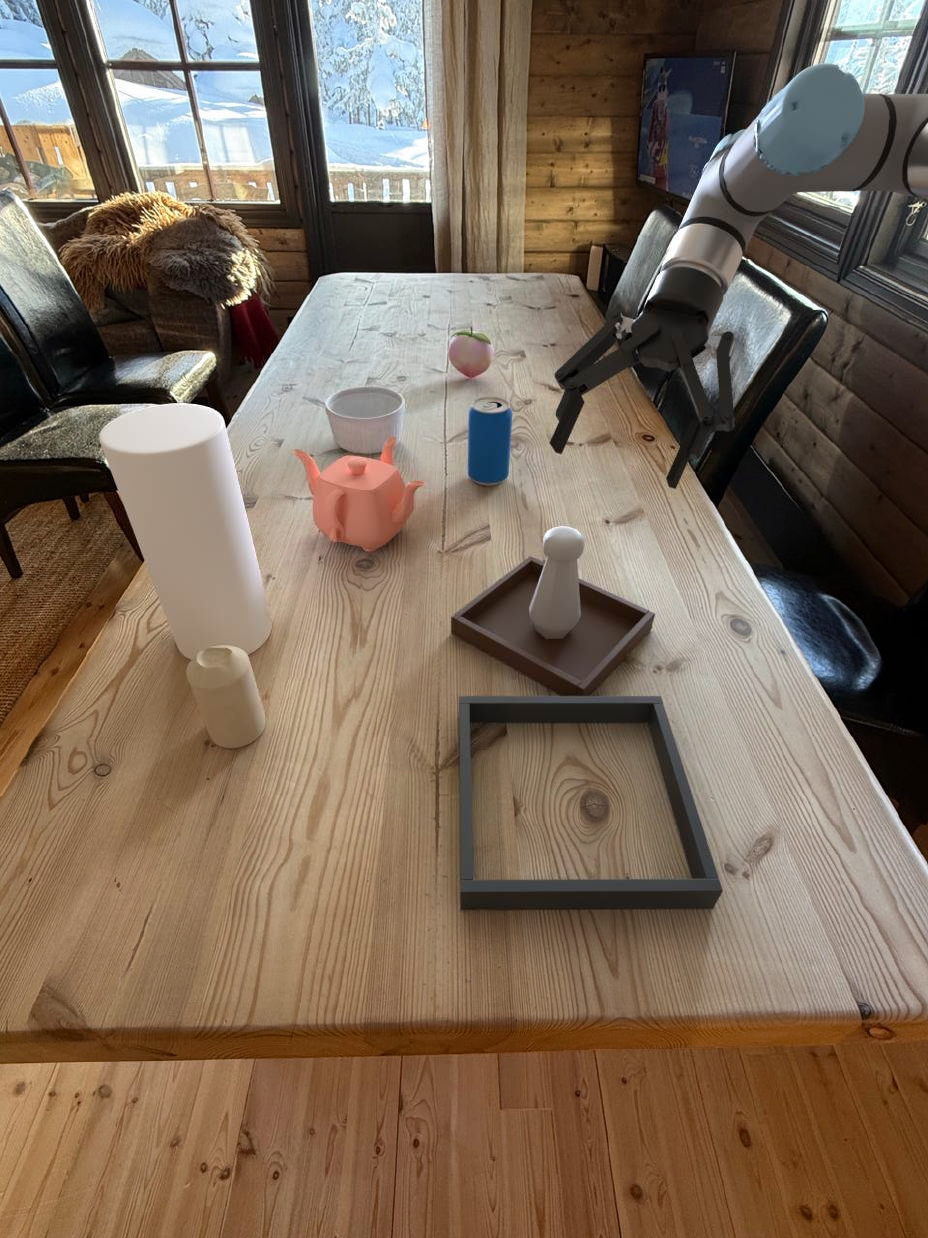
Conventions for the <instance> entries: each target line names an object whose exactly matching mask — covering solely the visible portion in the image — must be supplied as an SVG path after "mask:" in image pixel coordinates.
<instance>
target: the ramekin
mask: <svg viewBox="0 0 928 1238" xmlns="http://www.w3.org/2000/svg"><path fill="white" fill-rule="evenodd" d="M405 410H406V404H405V398H404V397H403V395H402V394H400V393H399V392H397V391H395V390H394V389H391V388H388V387H382V386H375V385H374V386H373V385H362V386H361V385H360V386H353V387H348V388H344V389H340V390H338V391H336V392H334V393H332V394H330V395H329V396H328V397H327V398H326V399H325V401H324V411H325V414H326V415H327V418H328V422H329V426H330V430H331V434H332V437H333V439H334V442H335V443H336V444H337V445H338V446H339V447H340V448H341V449H343V450H345V451H346V452H350V453H352V454H353V453H354V454H361V455H372V454H379V453H382V451H383V448H384V445H385V443H386V442H387V440H388V439H390V438H391V437H396V443H395V445H394V447H395V446H397V444H398V442H400V440H401V438H402V435H403V428H404V427H403V426H404V413H405Z"/></svg>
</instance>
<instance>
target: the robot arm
mask: <svg viewBox="0 0 928 1238" xmlns="http://www.w3.org/2000/svg"><path fill="white" fill-rule="evenodd" d="M830 192H831V193H832V192H890V193H896V194H900V195H905V196H908V197H913V198H917V199H924V200H928V93H889V94H885V93H884V94H883V93H869V92H868V93H867V92H866V93H864V92H863V89H862V88H861V86H860V83H859V82H858V80H857V78H856V77H855V76H854V75H853V74H852V73H851V72H849V71H848V72H845V71H843V70H842V69H840V67H839V65H838V64H836V63H829V62H823V63H816V64H813V65H810V66H808V67H806V68H805V69H803V70H801V71H800V72H798V74H796V75H795V76H794V77H793V78H792V79H791V80H790V81H789V82H788V83H787V84H786V85H785V86H784V87H783V88H781V89H780V90H779V91H778V92H777V93H776V94H775V95H773V96H772V97H771V98H770V99H769V100H768V102H767V103H766V104H765V106H764V107H763V108H762V109H761V111H760V113H759V114H758V115H757V116H756V117H755V119H754V120H753V121H752V122H751V124H749V126H747V128H746V129H744V128H743V129H741V130H738V131H737V132H735V133H729V134H727V135H725V136H724V137H723V138H722V139H721V140H720V141H719V142H718V144H717V145H716V147H715V148H714V151H713V152H712V155H711V156H710V159H709V161H708V162H706V164H705V165H704V167H703V169H702V170H701V174H700V178H699V181H698V184H697V186H696V188H695V191H694V193H693V195H692V198H691V200H690V202H689V204H688V207H687V209H686V212H685V214H684V216H683V219H682V221H681V223H680V225H679V227H678V229H677V232H676V234H675V236H674V237H673V238H674V239H673V240H672V243H671V245H670V247H669V249H668V251H667V254H666V255H665V258H664V260H663V263H662V264H661V267H660V269H659V270H660V273H659V274H657V276H656V278H655V281H654V283H653V284H652V288H651V289H650V292H649V294H648V296H647V299H646V301H645V303H644V306H643V309H642V311H641V313H640V314H639V316H637V317H636V318H635V319H633V318H630V317H626V316H624V315H623V314H622V311H621V310H620V309H613V311H611V312H610V313H609V316H608V318H607V319H606V320H605V323H604V325H603V326H602V327H601V328H600V329H599V330H598V331H597V332H596V333H595V334H593V336H592V337H590V339H589V340H587V341H586V343H584V345H583V344H582V346H581V347H580V348H579V349H578V350H577V351H576V352H575V353H574V354H573V355H572V356H571V357H570V358H568V360H567V361H565V362H564V363H563V364H562V365H561V366H560V367H559V368H558V369H557V370H556V371H555V373H554V379H555V380H556V383H557V384H558V386H559V387H560V389H561V390H564V392H563V395H562V396H561V399H560V401H559V403H558V405H557V408H556V409H555V417H556V419H557V421H558V423H557V425H556V428H555V429H554V432H553V434H552V436H551V437H550V440H549V442H548V443H549V445H550V447H551V448H552V450H553V451H554V452H555V453H556V454H559V455H562V454H563V453H564V449H565V448H566V445H567V443H568V441H569V439H570V436H571V434H572V432H573V429H574V427H575V426H576V423H577V420H578V418H579V416H580V414H581V412H582V409H583V407H584V405H585V400H584V398H583V396H584V395H585V394H588V393H589V392H590V391H592V390H593V389H595V388H597V387H598V386H600V385H602V384H603V383H605V382H607V381H608V380H610V379H612V378H613V377H615V376H616V375H618V374H620V373H621V372H623V371H624V370H626V369H628V368H629V369H632V368H634V367H636V366H637V365H639V364H640V363H642V364H643V366H644V367H647V368H658V369H660V370H662V371H663V372H668V373H671V372H672V371H674V370H678V369H679V371H680V373H681V376H682V378H683V381H684V383H685V385H686V388H687V391H688V393H689V396H690V399H691V401H692V404H693V407H694V410H695V413H696V416H697V418H698V420H699V421H698V420H694V419H692V420H691V421H690V423H689V426H688V428H687V431H686V433H685V434H684V437H683V439H682V441H681V443H680V446H679V448H678V450H677V453H676V455H675V457H674V460H673V461H672V464H671V466H670V468H669V471H668V473H667V475H666V477H665V480H666V482H667V487H668V488H671V489H674V490H677V488H678V485H679V483H680V481H681V478H682V476H683V474H684V472H685V469H686V467H687V465H688V463H689V460H690V459H692V460H695V461H698V460H699V459H700V458H701V457H702V456H703V453H704V450H705V448H706V446H707V444H708V442H709V439H710V437H711V435H712V434H713V433H714V432H718V431H724V432H725V433H726V432H727V433H729V432H732V431H733V430H734V428H735V411H734V399H733V385H732V375H731V373H732V372H731V361H732V357H733V354H734V352H735V334H734V333H733V332H732V331H730V330H729V331H724V332H723V333H722V335H715V334H714V335H713V334H709V333H710V330H711V329H712V326H713V325H714V322H715V320H716V317H717V315H718V313H719V311H720V308H721V307H722V304H723V301H724V297H725V295H726V294H727V291H728V289H729V287H730V285H731V283H732V280H733V279H734V277H735V274H736V273H737V271H738V269H739V265H740V263H741V261H742V259H743V257H744V255H745V251H746V250H747V247H748V245H749V244H750V241H751V239H752V237H753V235H754V232H755V230H756V228H757V227H758V225H759V223H761V221H763V219H765V218H766V217H767V216H768V215H770V213H772V212H773V211H775V210H776V209H777V208H778V207H780V206H781V205H782V204H783V203H784V202H785V201H786V200H787V199H789V198H790V197H792V196H793V195H794V194H797V193H830ZM628 333H631V336H632V337H629V338H628V339H627V340H625V341H623V342H622V343H620V345H619V347H617V349H615V350H614V351H612V352H611V353H609V354H608V355H606V356H604V355H605V354H606V353H607V352H608V351H610V349H611V348H612V347H613V346H614V345H615V344H616V343H617V341H618V340H622V339H624V337H625V335H626V334H628ZM706 349H708V350H709V351H710V356H711V357H712V359H714V360H716V369H717V370H716V371H717V382H718V392H719V393H718V394H719V395H718V397H719V407H720V413H714V412H713V411H712V408H711V405H710V402H709V400H708V397H707V395H706V392H705V389H704V387H703V384H702V381H701V378H700V376H699V373H698V371H697V367H696V365H695V361H694V358H696V357H697V356H698V355H701V354H703V352H705V350H706ZM603 356H604V357H603ZM602 357H603V358H602Z"/></svg>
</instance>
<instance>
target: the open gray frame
mask: <svg viewBox="0 0 928 1238" xmlns="http://www.w3.org/2000/svg"><path fill="white" fill-rule="evenodd" d="M471 724H647V726H648V730H649V733H650V737H651V741H652V743H653V747H654V751H655V754H656V757H657V758H656V759H657V761H658V765H659V768H660V771H661V775H662V779H663V782H664V786H665V789H666V793H667V796H668V799H669V803H670V807H671V809H672V814H673V818H674V820H675V824H676V827H677V830H678V831H677V832H678V835H679V838H680V841H681V845H682V848H683V852H684V856H685V858H686V862H687V866H688V869H689V872H690V876H691V878H603V879H602V878H593V879H592V878H589V879H588V878H585V879H584V878H583V879H582V878H581V879H579V878H578V879H577V878H575V879H571V878H568V879H563V878H562V879H561V878H560V879H559V878H557V879H554V878H553V879H552V878H551V879H546V878H545V879H474V844H473V843H474V841H473V840H474V839H473V837H474V836H473V797H472V796H473V795H472V794H473V793H472V791H473V790H472V757H471V756H472V755H471V753H472V751H471V748H472V747H471ZM458 755H459V756H458V762H459V764H458V765H459V767H458V768H459V769H458V770H459V771H458V772H459V773H458V775H459V777H458V778H459V780H458V781H459V782H458V783H459V911H557V910H558V911H567V910H568V911H577V910H578V911H581V910H582V911H587V910H590V911H595V910H596V911H599V910H600V911H603V910H606V911H607V910H614V911H615V910H618V911H619V910H621V911H622V910H714V909H715V906H716V904H717V903H718V901H719V899H720V897H721V895H722V894H723V892H724V889H723V887H722V884H721V881H720V877H719V874H718V871H717V868H716V864H715V862H714V859H713V856H712V852H711V849H710V846H709V843H708V839H707V836H706V833H705V831H704V827H703V823H702V820H701V818H700V814H699V811H698V808H697V805H696V802H695V799H694V796H693V793H692V790H691V786H690V783H689V780H688V777H687V774H686V771H685V768H684V764H683V762H682V759H681V755H680V752H679V749H678V745H677V742H676V739H675V736H674V733H673V730H672V727H671V723H670V721H669V717H668V715H667V711H666V708H665V705H664V701H663V699H662V696H661V695H591V696H561V695H459V696H458Z"/></svg>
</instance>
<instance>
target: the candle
mask: <svg viewBox="0 0 928 1238" xmlns="http://www.w3.org/2000/svg"><path fill="white" fill-rule="evenodd" d="M186 667H187V668H186V673H185V676H186V678H187V681H188V684H189V686H190V689H191V693H192V694H193V697H194V699H195V702H196V705H197V708H198V710H199V712H200V713H199V714H200V716H201V718H202V720H203V724H204V726H205V728H206V731H207V733H208V736H209V738H210V739H211V741H212V742H213V743H214V744H215V745H217V746H219V747H221V748H224V749H239V748H242V747H245V746H247V745H250V744H251V743H253V742H255V741H256V740H257V739H259V737H260V736H261V735H262V734H263V733H264V730H265V728H266V723H267V719H266V715H265V710H264V705H263V702H262V700H261V699H262V698H261V695H260V693H259V688H258V685H257V682H256V678H255V675H254V672H253V668H252V664H251V660H250V658H249V655H247V654H246V653H245V652H244V651H243V650H242V649H240V648H237V647H234V646H228V645H219V646H213V647H210V648H206V649H204V650H202V651H199V652H198V654H197V655H196V656H195V657H194V658H193V659H192V660H190V661H189V663H188V665H187V666H186Z"/></svg>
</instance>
